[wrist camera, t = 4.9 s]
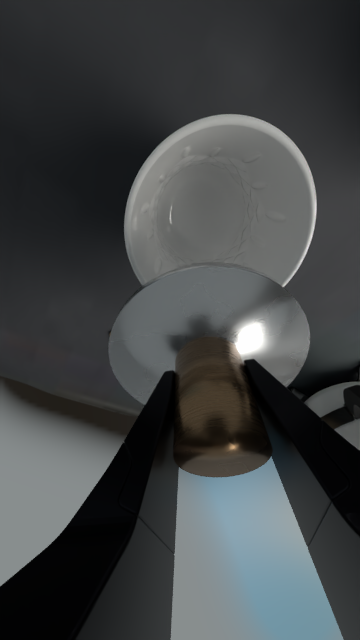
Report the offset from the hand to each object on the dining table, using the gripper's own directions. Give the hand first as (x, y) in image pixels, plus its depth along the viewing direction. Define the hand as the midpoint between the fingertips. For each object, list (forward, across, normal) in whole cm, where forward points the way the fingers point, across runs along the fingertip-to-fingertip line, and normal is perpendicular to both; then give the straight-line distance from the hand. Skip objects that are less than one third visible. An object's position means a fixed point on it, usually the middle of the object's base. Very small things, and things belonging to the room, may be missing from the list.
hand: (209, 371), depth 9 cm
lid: (+1, 0, 0) cm, 1 cm away
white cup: (+13, -1, -5) cm, 14 cm away
